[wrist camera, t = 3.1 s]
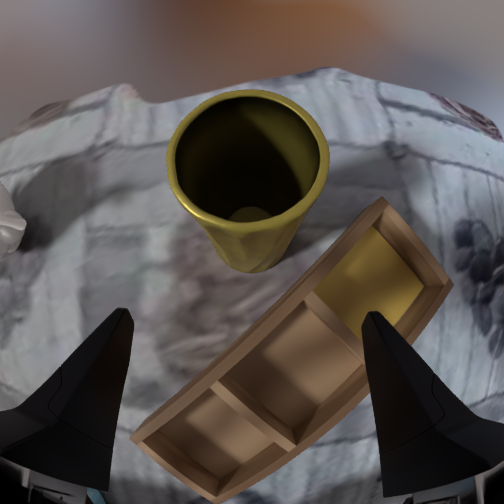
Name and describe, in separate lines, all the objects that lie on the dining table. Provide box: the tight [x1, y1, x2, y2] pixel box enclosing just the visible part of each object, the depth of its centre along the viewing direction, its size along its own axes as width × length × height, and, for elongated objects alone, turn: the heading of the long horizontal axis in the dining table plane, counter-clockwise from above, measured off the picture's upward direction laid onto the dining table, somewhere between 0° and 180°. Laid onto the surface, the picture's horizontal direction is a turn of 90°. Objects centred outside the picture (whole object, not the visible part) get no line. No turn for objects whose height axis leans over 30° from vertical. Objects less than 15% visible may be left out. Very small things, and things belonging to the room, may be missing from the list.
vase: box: [166, 90, 330, 273], centre depth 15 cm, size 6×6×14 cm
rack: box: [130, 197, 454, 504], centre depth 19 cm, size 10×27×4 cm, turn 134°
